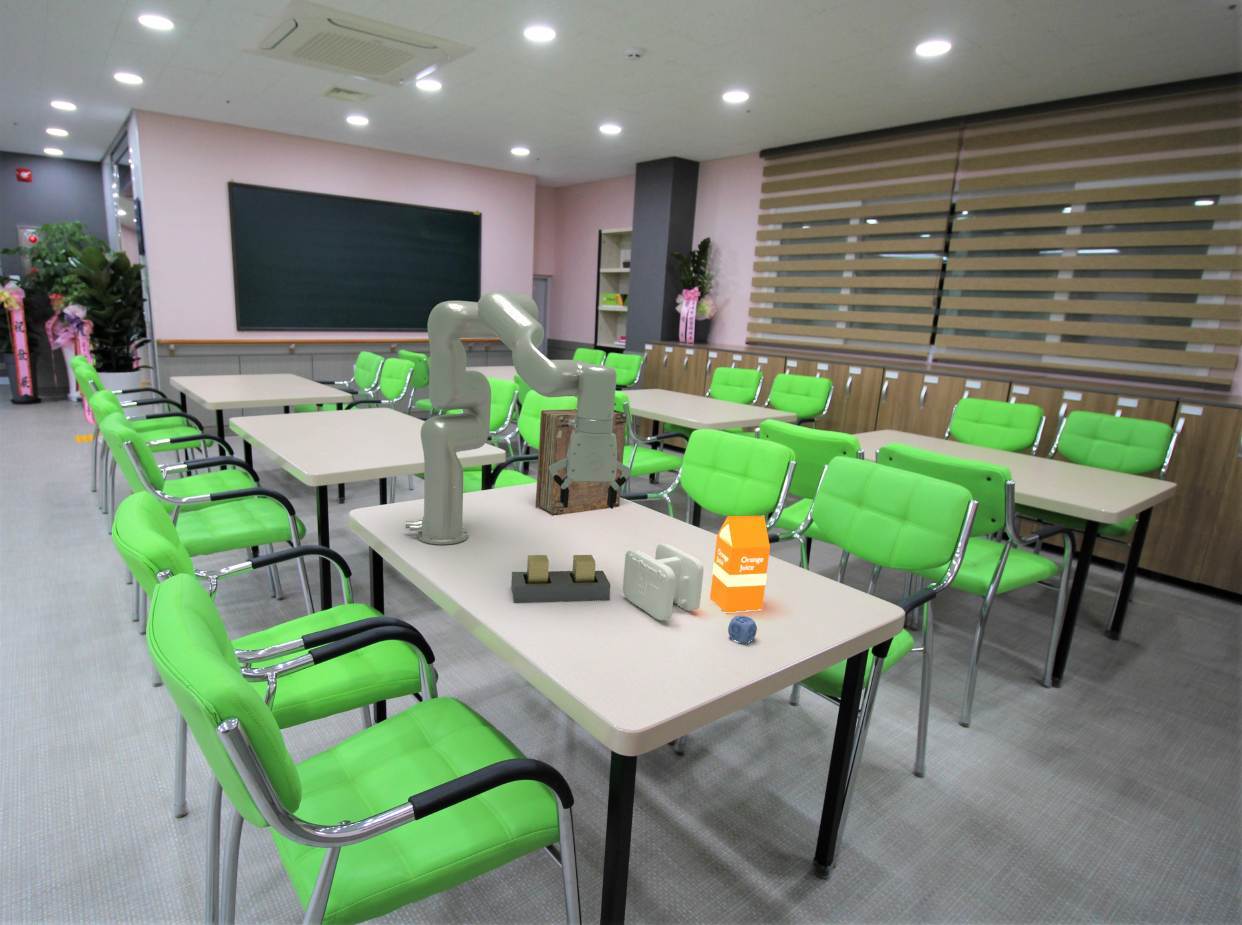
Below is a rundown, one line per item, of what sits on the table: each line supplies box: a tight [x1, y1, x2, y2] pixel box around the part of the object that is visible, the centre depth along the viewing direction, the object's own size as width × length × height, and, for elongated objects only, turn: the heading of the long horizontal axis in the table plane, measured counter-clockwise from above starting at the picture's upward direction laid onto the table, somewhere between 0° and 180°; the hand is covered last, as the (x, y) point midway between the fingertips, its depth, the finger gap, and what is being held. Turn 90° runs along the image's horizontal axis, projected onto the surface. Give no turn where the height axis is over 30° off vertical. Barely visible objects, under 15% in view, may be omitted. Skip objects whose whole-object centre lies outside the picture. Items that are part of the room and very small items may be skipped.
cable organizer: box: [622, 543, 705, 621], centre depth 140 cm, size 15×11×12 cm
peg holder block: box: [510, 554, 611, 604], centre depth 143 cm, size 20×8×8 cm, turn 103°
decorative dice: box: [727, 615, 758, 644], centre depth 129 cm, size 4×4×4 cm
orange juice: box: [709, 515, 771, 612], centre depth 143 cm, size 8×9×20 cm
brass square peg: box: [571, 554, 596, 583], centre depth 144 cm, size 4×4×8 cm
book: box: [535, 408, 628, 517], centre depth 206 cm, size 25×9×30 cm, turn 128°
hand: (587, 506), depth 141 cm, fingers open, 9 cm apart
